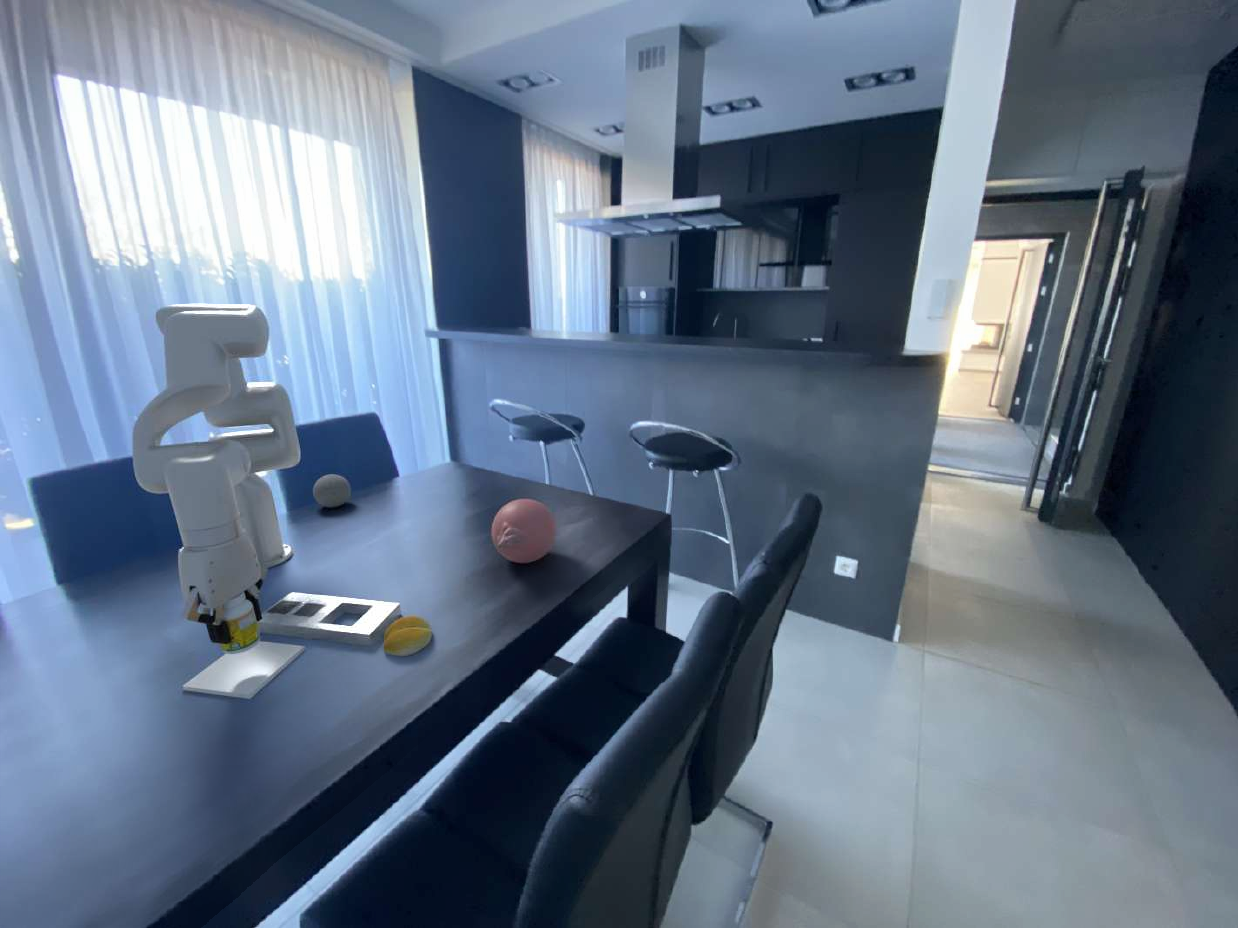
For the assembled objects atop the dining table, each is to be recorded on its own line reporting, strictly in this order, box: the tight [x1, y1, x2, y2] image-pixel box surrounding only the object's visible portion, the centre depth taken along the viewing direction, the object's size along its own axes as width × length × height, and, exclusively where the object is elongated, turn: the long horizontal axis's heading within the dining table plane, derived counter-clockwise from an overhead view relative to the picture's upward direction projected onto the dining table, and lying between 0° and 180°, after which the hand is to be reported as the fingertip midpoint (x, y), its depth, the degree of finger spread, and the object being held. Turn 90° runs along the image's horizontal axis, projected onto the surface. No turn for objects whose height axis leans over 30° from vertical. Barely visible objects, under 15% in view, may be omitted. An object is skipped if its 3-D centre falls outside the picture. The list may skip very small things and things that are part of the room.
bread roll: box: [382, 615, 433, 657], centre depth 94 cm, size 8×9×4 cm
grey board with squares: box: [257, 591, 402, 647], centre depth 99 cm, size 24×10×3 cm, turn 82°
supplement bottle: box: [211, 591, 262, 654], centre depth 84 cm, size 5×5×10 cm
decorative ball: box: [312, 473, 352, 508], centre depth 153 cm, size 10×10×10 cm
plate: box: [182, 640, 306, 700], centre depth 87 cm, size 12×12×1 cm
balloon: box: [491, 498, 557, 564], centre depth 120 cm, size 15×20×15 cm
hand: (237, 629), depth 84 cm, fingers closed on supplement bottle, 5 cm apart
